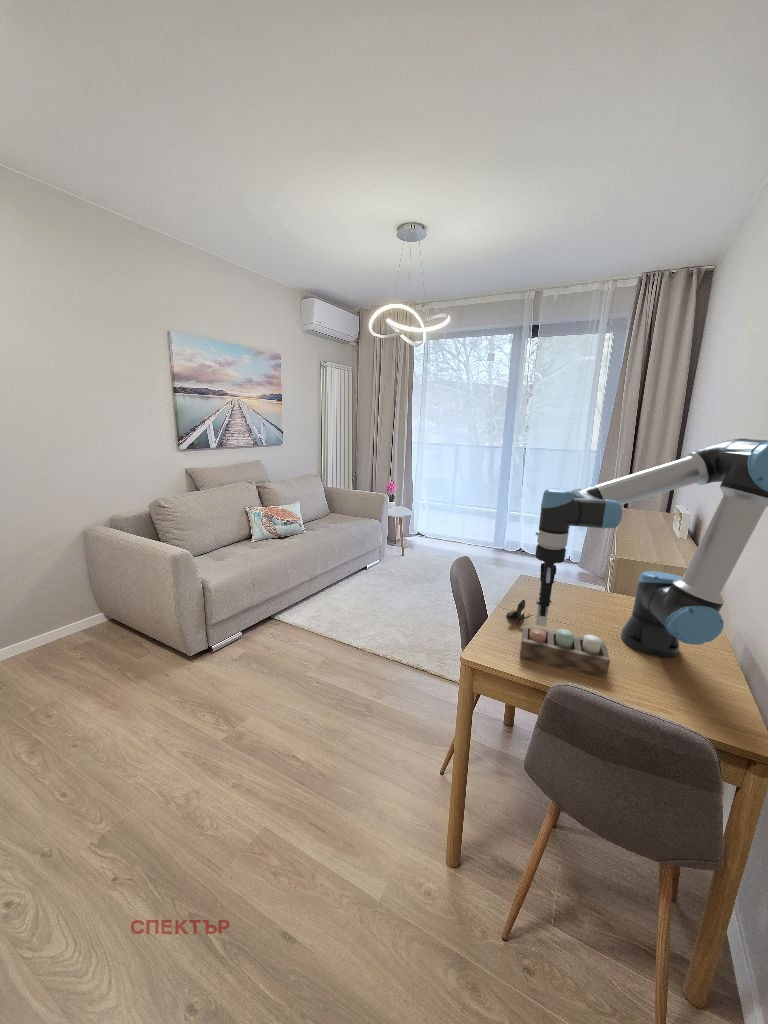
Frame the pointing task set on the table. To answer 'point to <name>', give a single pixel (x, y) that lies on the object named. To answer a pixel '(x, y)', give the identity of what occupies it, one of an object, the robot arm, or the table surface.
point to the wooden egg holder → (564, 654)
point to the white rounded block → (591, 644)
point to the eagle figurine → (519, 612)
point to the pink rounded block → (537, 635)
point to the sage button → (564, 638)
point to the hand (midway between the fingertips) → (540, 624)
